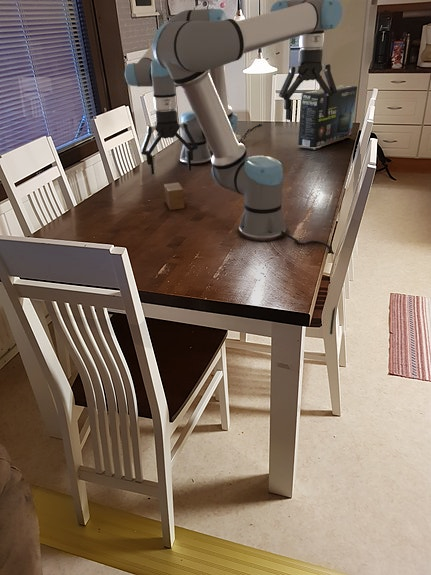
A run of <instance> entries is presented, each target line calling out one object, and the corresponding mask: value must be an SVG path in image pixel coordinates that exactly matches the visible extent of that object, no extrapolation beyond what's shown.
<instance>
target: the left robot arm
mask: <svg viewBox="0 0 431 575" xmlns="http://www.w3.org/2000/svg"><path fill="white" fill-rule="evenodd" d="M226 19H229V17H228V15H227V13H226V12H225V10H223V9H220V8H214V7H213V8H203V9H200V8H199V9H186V10H183V11H180V12H178V13H177V14H175V15H174V16H172V17H170V18H169V19H168V20H167V21H166V23H167V22H171V21H174V20H179V21H222V20H226ZM152 45H153V43H152V44H151V45H150V46H149V48H148V49H147V50H146V52H145V53H143V55H142V56H141V58H140V59H139V61H137V62H132V63H128V64H126V66H125V68H124V78H125V81H126V83H127V85H129V86H130V87H137V88H141V87H142V88H144V87H147V88H148V87H152V93H153V94H152V95H153V106H154V109H155V112H154V115H155V116H154V117H155V125H147V126H146V127H147V128H146V129H147V130H146V135H145V138H144V140H143V142H142V146H141V148H140V153H141V155H143V156H145V158H146V164H147V165H148V166H149V167H150V173H151V175H155V169H154V160H153V159H154V158H153V154H152V153H153V151H154V150H155V148H156V147H157V146H158V144H159V143H160V141H161V140H162V139H164V140H165V139H169V138H170V139H173V138H175V137H176V138H177V139H178V140H179V142H180V143H182V147H181V151H180V156H179V162H180V163H181V164H183V165H187V169H188V171H192V166H197V165H205V164H208V163H210V162H212V161H211V159H212V155H211V153H212V154H213V152H212V150H210V149H209V145H208V142H207V140H206V138H205V135H204V133H203V131H202V129H201V127H200V125H199V123H198V120H197V118H196V116H195V114H194V112H193V110H192V109H191V110H189V111H188V110H187V111H185V112H183V113H182V114H181V116H180V123H179V121H178V120H179V119H178V110H177V108H178V106H177V94H176V88H178V87H180V86H179V85H176V84H174V82H173V80H172V78H171V76H170V74H169V72H168V70H167V69H165V68H163V67H162V66H161V65H159V64H158V62H157V61H156V59H155V57H154V54H153V48H152ZM225 65H226V64H225ZM225 65H222V66H219V67H217V68H214V69H211V70H209V74H210V77H211V79H212V81H213V84H214V86H215V89H216V91H217V93H218V96H219V98H220V101H221V103H222V106H223V108H224V110H225V113H226V115H227V118H228V120H229V122H230V125H231V127H232V130H233V132H234V134H236V133H237V132H238V131H237V130H238V122H239V118H238V115H237V114H236V113H234V112H233V108H232V107H231V106H230V105H229V96H228V86H227V75H226V66H225ZM180 129H181V135H180V134H179V133H178V132H179V130H180ZM155 131H156V133H157V134H156V135H155V138H154V139H153V141H152V142H151V143H150V140H151V137H152V134H153V133H154V132H155ZM149 143H150V145H149ZM148 145H149V146H148Z"/></svg>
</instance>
